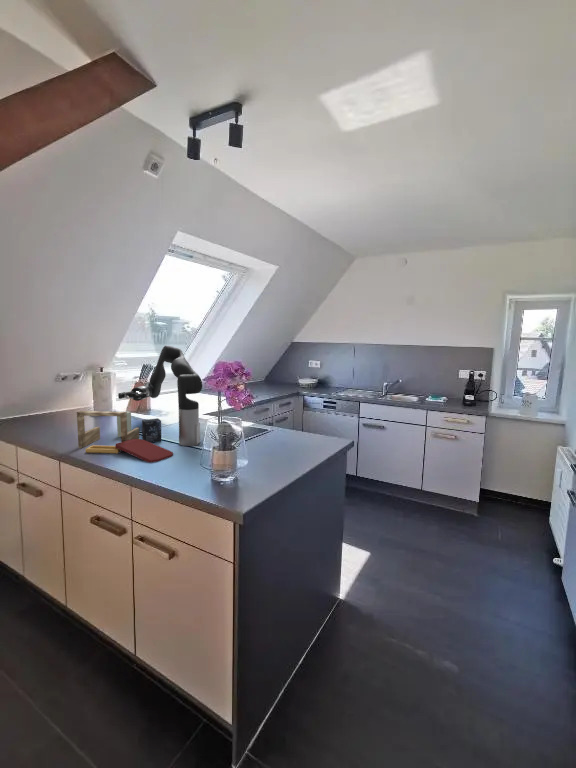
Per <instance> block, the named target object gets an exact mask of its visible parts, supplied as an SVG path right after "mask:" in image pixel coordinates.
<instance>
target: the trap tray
mask: <svg viewBox="0 0 576 768" xmlns="http://www.w3.org/2000/svg"><path fill="white" fill-rule="evenodd" d="M115 446H116V445H97V444H96V445H90V446H88V447H87V448H85V454H108V455H109V454H110V455H111V454H113V455H115V454H117V455H118V454H120V453H121V452H122V451H121V450H120V449H118V448H117V449H115Z"/></svg>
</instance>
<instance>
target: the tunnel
mask: <svg viewBox="0 0 576 768" xmlns="http://www.w3.org/2000/svg"><path fill="white" fill-rule="evenodd" d="M127 412H128V411H108V410H107V411H104V410H103V411H102V410H101V411H100V410H79V411H76V423H77V425H76V426H77V442H78V443H77V445H78V447H77V448H78V449H83V448H85V447H87V446H89V445H90V444H93V443H95V442H96V441H99V440H100V439H101V428H100V426H95V427H93V428H91V429H89V430H87V431H85V430H86V429H85V427H86V425H85V417H87V416H88V417H90V416H91V417H117V416H120V419H121V437H120V438H121V439H120V442H124V441H127V440H131V439H140V427H134V428H133V429H131V431H129V432H127Z"/></svg>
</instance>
